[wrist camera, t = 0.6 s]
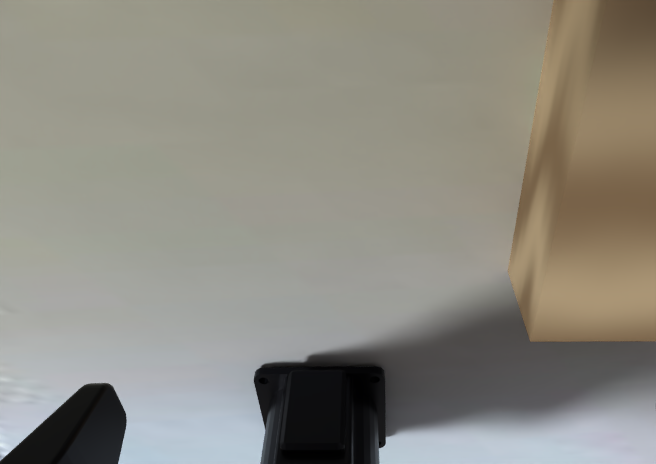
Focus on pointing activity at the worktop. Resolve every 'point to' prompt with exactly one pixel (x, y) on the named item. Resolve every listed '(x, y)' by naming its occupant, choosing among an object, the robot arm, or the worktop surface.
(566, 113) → the tan block
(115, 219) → the worktop surface
